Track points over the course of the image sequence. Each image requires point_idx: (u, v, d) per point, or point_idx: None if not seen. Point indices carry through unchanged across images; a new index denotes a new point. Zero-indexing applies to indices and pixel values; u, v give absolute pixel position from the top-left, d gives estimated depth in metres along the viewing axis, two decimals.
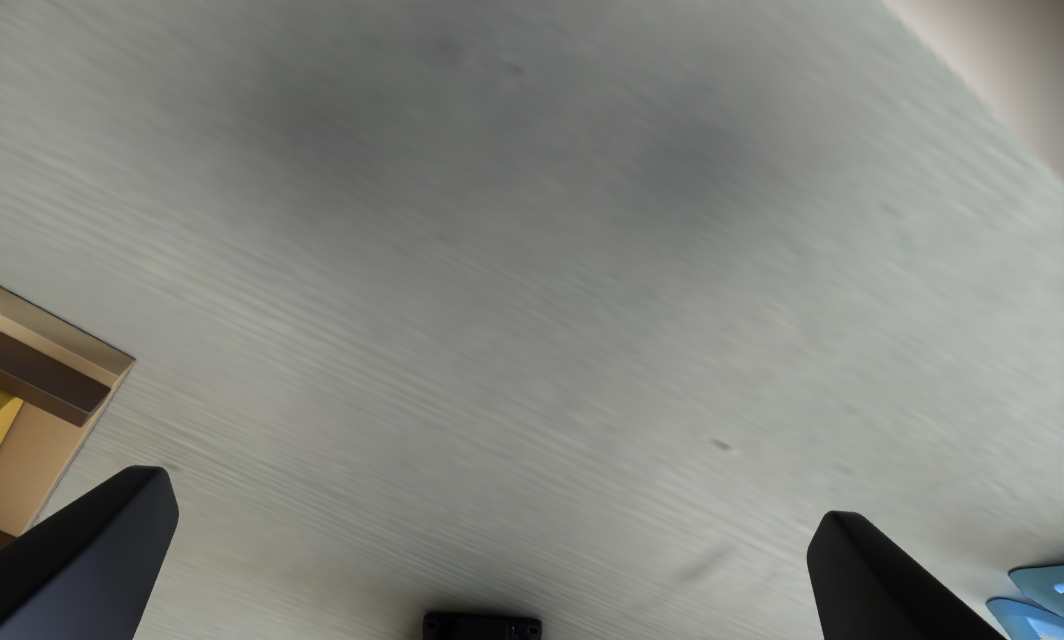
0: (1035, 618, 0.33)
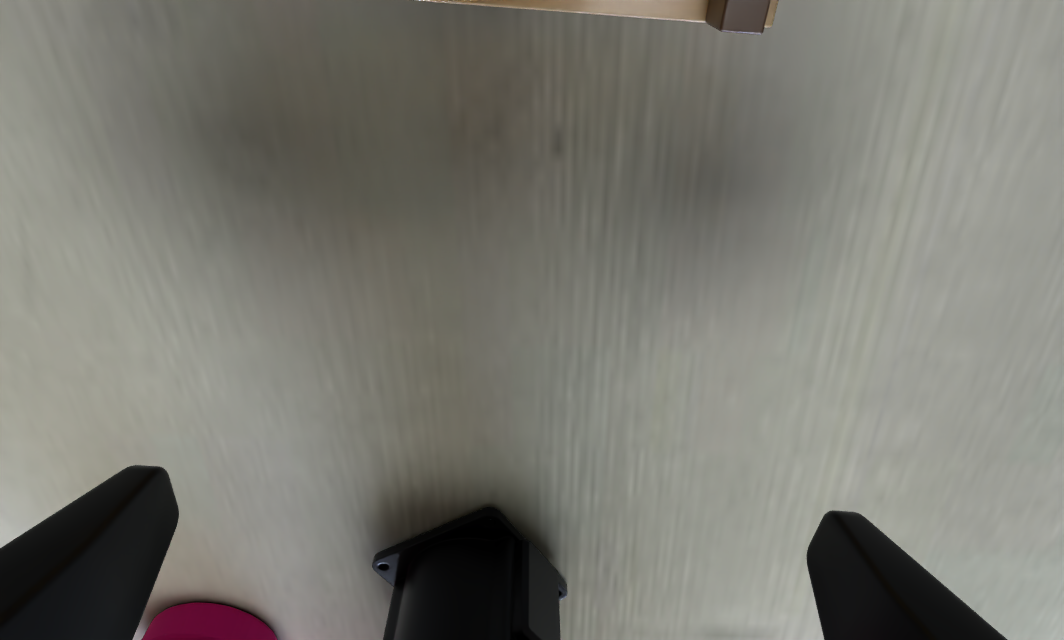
0: None
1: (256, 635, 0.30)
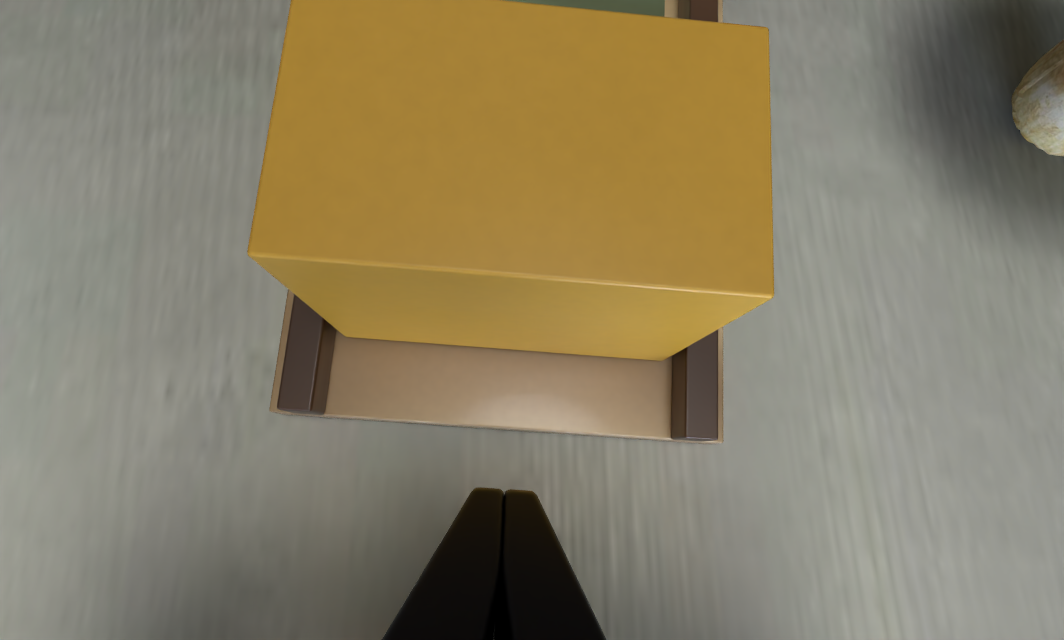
0: None
1: None
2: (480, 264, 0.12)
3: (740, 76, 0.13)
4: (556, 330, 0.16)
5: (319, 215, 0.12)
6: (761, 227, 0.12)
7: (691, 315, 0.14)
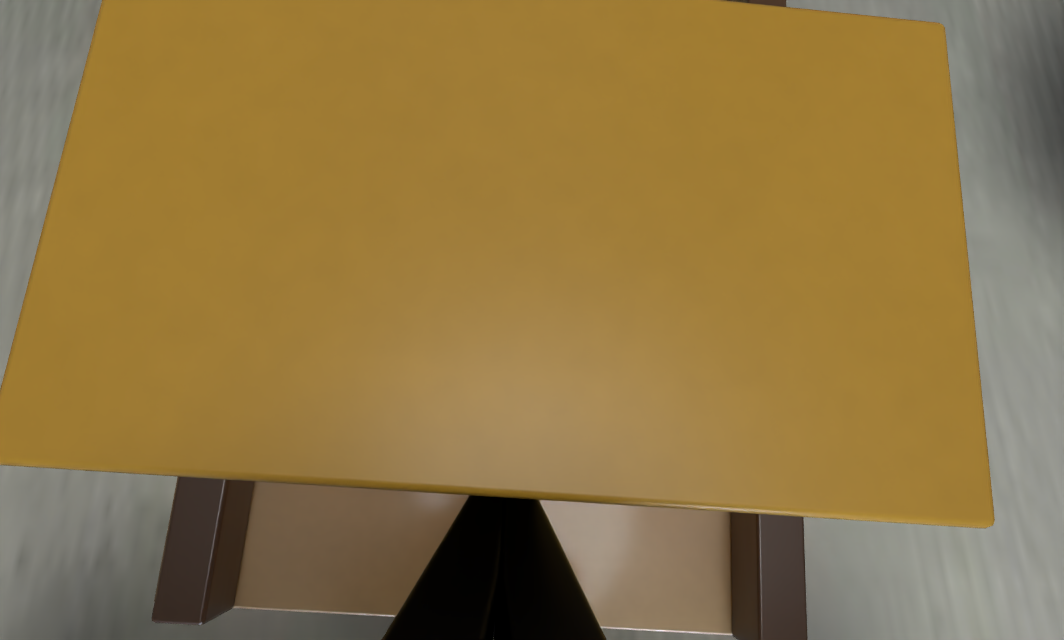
0: None
1: None
2: (439, 472, 0.06)
3: (903, 108, 0.07)
4: None
5: (130, 379, 0.06)
6: (962, 388, 0.07)
7: None
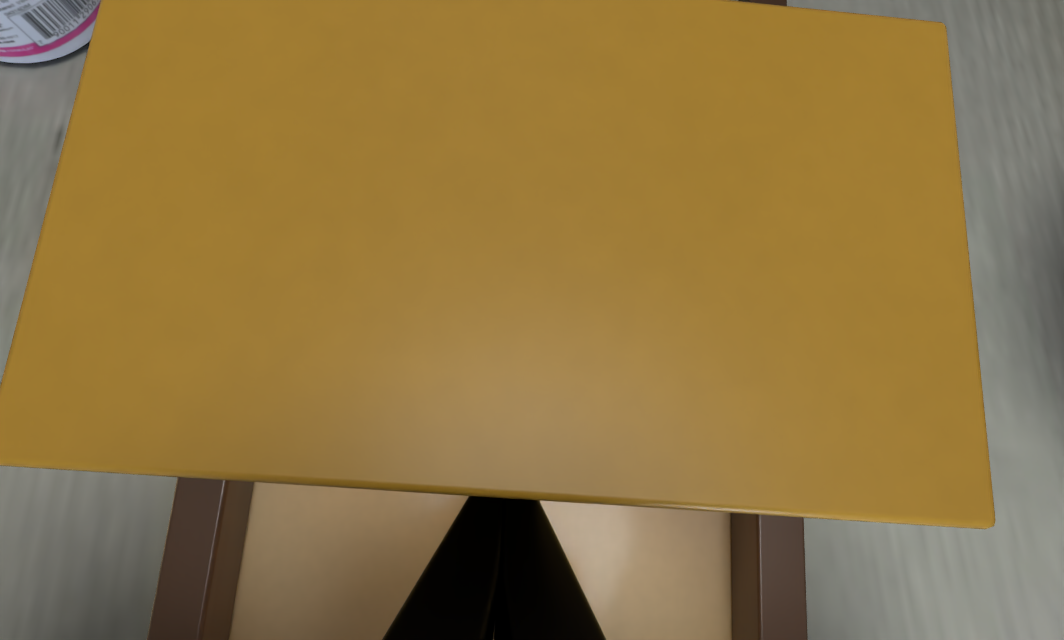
0: None
1: None
2: (439, 473, 0.06)
3: (904, 108, 0.07)
4: None
5: (130, 380, 0.06)
6: (962, 389, 0.07)
7: None
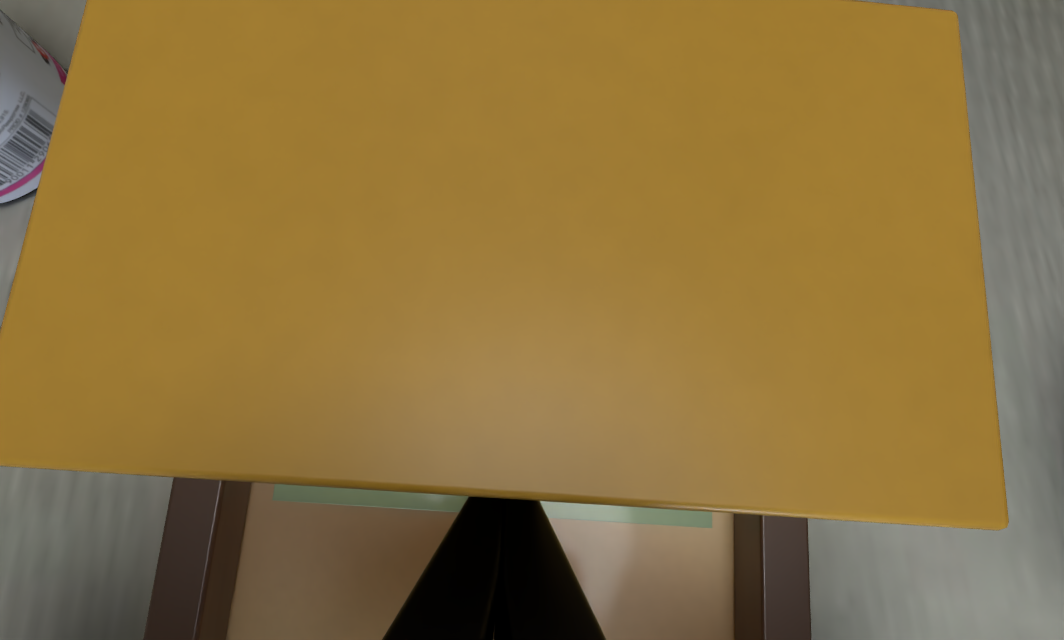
0: None
1: None
2: (438, 473, 0.06)
3: (915, 98, 0.07)
4: None
5: (119, 376, 0.06)
6: (975, 386, 0.06)
7: None
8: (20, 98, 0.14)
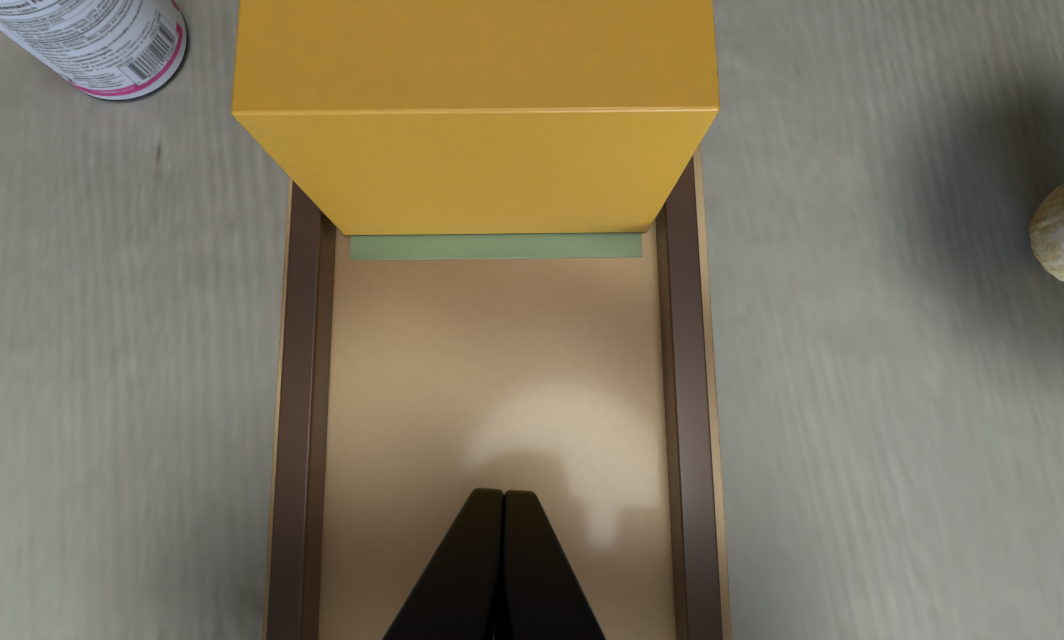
0: None
1: None
2: (442, 103, 0.13)
3: None
4: (534, 195, 0.17)
5: (292, 73, 0.13)
6: (704, 46, 0.13)
7: (652, 150, 0.15)
8: (155, 13, 0.21)
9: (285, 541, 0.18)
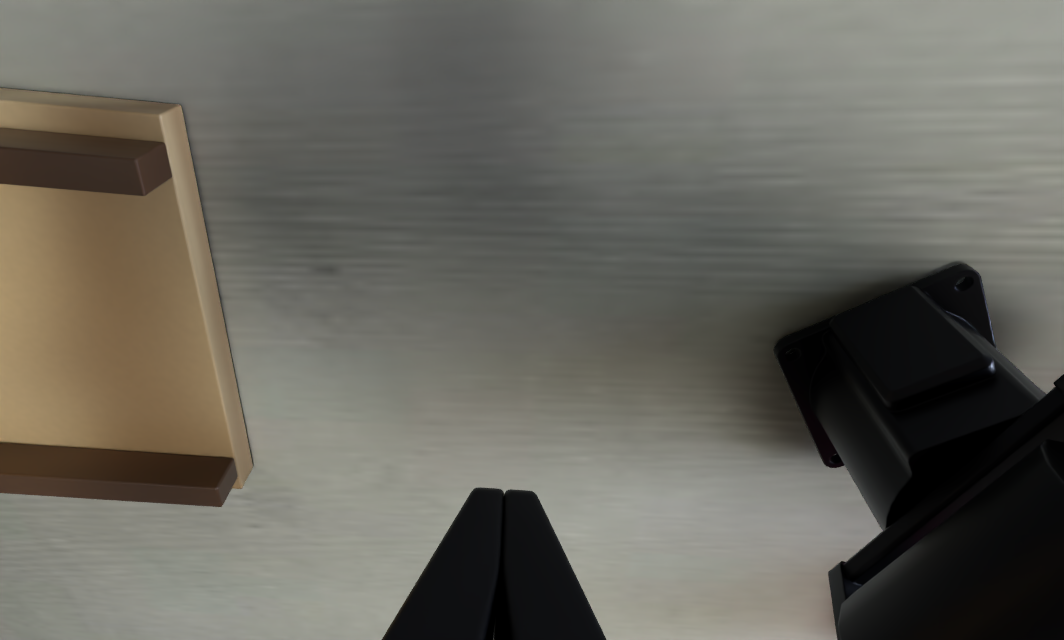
0: None
1: None
2: None
3: None
4: None
5: None
6: None
7: None
8: None
9: (108, 492, 0.22)
